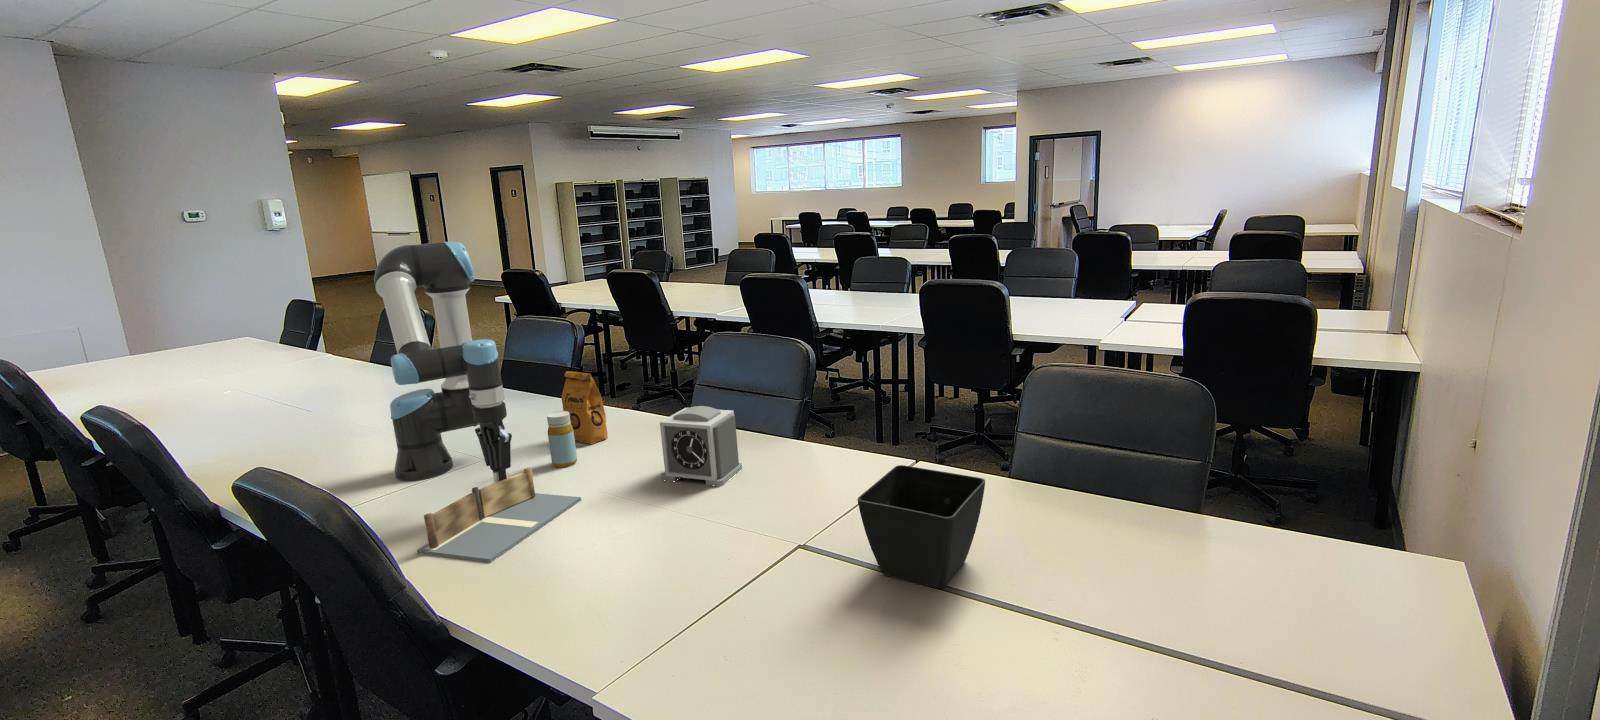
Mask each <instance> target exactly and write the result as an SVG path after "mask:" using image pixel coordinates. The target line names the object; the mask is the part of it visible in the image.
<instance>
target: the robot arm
mask: <svg viewBox="0 0 1600 720" xmlns="http://www.w3.org/2000/svg"><path fill="white" fill-rule="evenodd" d="M373 278H374V279H373V281H374V287H375V291H376V293H377V295H379V297H381V298H382V300H383V301H382V302H383V304H384V308H385V312H386V317H387V319H388V323H389V326H390V330H391V334H392V338H393V341H394V345H395V349H396V354H394V355H391V357H390V365H391V370H392V375H393V379H394V382H395V384H397V385H399V386H406V385H416V384H417V385H418V384H421V383H425V382H432V381H435V380H436V381H437V380H441V379H445V380H443V382H442V383H441V385H440V387H441V391H440V392H435V391H434V390H433V389H432V388H423V389H422V388H421V389H416V390H412V391H409V392H406V393H404V394H401V395H399V396H397V397H395V398H394V399H393V400H392V401H391V402H390V404H389V408H390V409H389V410H390V419H391V420H392V426H393V431H394V438H395V442H396V448H397V454H396V460H395V464H394V474H395V479H397V480H399V481H404V482H405V481H407V482H408V481H409V482H410V481H419V480H425V479H430V478H434V477H437V476H440V475H442V474H445V473H447V472H448V471H450V470H452V469H453V467H454V462H453V458H452V456H451V454H450V453H449V450H448V449H447V447H446V445H445V443H444V442H443V437H442V433H445V432H446V433H447V432H451V431H457V430H461V429H467V428H471V427H473V428H474V427H477V428H475V429H474V432H475V434H476V436H477V438H478V442H479V445H480V448H481V452H482V455H483V459H484V462H485V466H486V467H489V469H490V470H491V471H492V476H493V484H494V483H497V482H499V481H502V480H504V479H507V478H508V477H507V470H508V469H510V468H511V467H512V465H511V461H512V459H511V457H512V456H511V450H512V449H511V448H512V447H511V444H512V443H511V441H512V437H513V435H512V433H511V432H509V433H508V432H507V431H506V430H505V429H506V427H505V425H504V422H503V420H504V419H505V418H506V417H507V416H508V415H507V414H508V413H507V406H506V402H504V400H505V394H504V387H503V383H502V382H503V381H502V375H501V369H500V362H499V352H498V350H497V345H496V342H495V340H493V339H487V338H486V339H484V338H481V339H474V340H473V338H472V330H471V325H470V324H471V323H470V318H469V311H468V305H467V298H466V294H467V293H468V291H469V290H470V289H471V287H470V286H471V285H470V283H472V282H474V281H475V272H474V267H473V264H472V261H471V257H470V256H469V253H468V250H467V249H466V247H465V246H464V245H463V243H462V242H459V241H440V242H431V243H429V242H428V243H422V244H421V243H420V244H411V245H410V244H405V245H401V246H398V247H395V248H393V249H391V250H390V251H389V252H387V253H386V254H385V255H384V256H383V257H382V258H381V260H380V261H379V263H378V264H377V266H376V269H375V272H374V277H373ZM417 288H423V289H424V293H425V294H426V295H428V297H430V298H431V299H432V305H433V310H434V316H435V322H436V328H437V334H438V335H437V336H438V341H439V346H440V347H439V348H432V346H431V343H430V340H429V337H428V333H427V330H426V327H425V323H424V320H423V317H422V313H421V310H420V307H419V304H418V303H419V302H418V300H417V297H416V294H415V291H416V289H417ZM478 426H479V427H478Z"/></svg>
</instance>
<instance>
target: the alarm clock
mask: <svg viewBox="0 0 1600 720" xmlns="http://www.w3.org/2000/svg"><path fill="white" fill-rule="evenodd" d="M734 411H735V410H733V409H732V410H731V409H727V410H726V409H717V408H714V407H711V406H706V405H705V406H704V405H697V406H692V407H691V406H689V407H684V408H683V409H680V410H678V411H677V412H675V413H674V414H672V415H670V416H668V417H666V418H665V419H663V420H662V421H659V428H660V438H661V444H662V445H661V447H662V448H661V449H662V456H663V465H664V466H663V467H664V472H662V473H661V478H662V481H663V480H665V481H664V482H668V481H676V480H677V479H679V478H680V477H682V479H683V478H684V479H691V480H692V479H693V480H702V481H703V480H704V481H705V486H706V485H714V486H713V487H715V486H721V485H724V484H725V483H726V482H727V481H728V480H729V479H730V478H732V477H733V476H734V475H735V474H737V473H738V472H739V471H740V470H741V469H742V470H743V463H741V462H740V461H739V460H740V459H739V448H738V437H737V436H738V435H737V425H736V423H737V422H736V415H735V412H734ZM739 473H740V472H739ZM739 473H738V474H739ZM738 474H737V475H738ZM733 478H734V477H733ZM733 478H732V479H733ZM680 479H681V478H680ZM680 479H679V480H680ZM677 481H678V480H677ZM677 481H676V482H677ZM728 482H729V481H728ZM728 482H727V483H728ZM727 483H726V484H727ZM726 484H725V485H726ZM725 485H724V486H725ZM721 487H722V486H721Z"/></svg>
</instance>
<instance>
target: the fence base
mask: <svg viewBox="0 0 1600 720" xmlns="http://www.w3.org/2000/svg"><path fill="white" fill-rule="evenodd" d="M479 489H480V488H479V487H478V486H474V487H472V488H471V492H470V493H468V494H467V495H465V496H463V497H461V498H459V499H457V500H456V501H454V502H452V503H450V504H448V505H447V506H444V507H443V508H441V509H439V510H438V511H435V512H434V513H431V512H430V513H429V512H428V513H426V514H424V515H423V520H424V525H425V530H426V535H427V541H428V543H429V547H430V549H433V548H437V547H438V546H439V545H440V544H442V543H444V542H445V541H447V540H449V539H450V538H452V537H454V536H455V535H457V534H459V533H460V532H462V531H463V530H465V529H467V528H468V527H470V526H472V525H473V524H475V523H477V522H478V521H480V520H482V519H483V513H482V507H481V501H480V495H479Z"/></svg>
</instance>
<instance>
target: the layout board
mask: <svg viewBox="0 0 1600 720" xmlns="http://www.w3.org/2000/svg"><path fill="white" fill-rule="evenodd" d="M581 501H582V497H580V496H571V495H559V494H550V493H536V492H535V497H532V498H529V499H527V500H524V501H522V502H520V503H517V504H515V505H513V506H510V507H508V508H506V509H503V510H501V511H498V512H496V513H494V514H491V515H489V516H487V517H483V519H482V520H480V521H478V522H477V523H475V524H473V525H472V526H470V527H468V528H467V529H465V530H463V531H462V532H460V533H459V534H457V535H455V536H454V537H452V538H450V539H449V540H447V541H445V542H444V543H442V544H440V545H439V546H438V547H437V548H433V549H430V547H429V542H428V543H426V544H424V545H422V546H421V547H418V548H417V549H416V554H418V555H419V554H420V555H421V554H422V555H426V556H427V555H428V556H436V557H444V558H451V559H457V560H458V559H460V560H467V561H475V562H482V563H483V562H484V563H490V564H491V563H492V562H494V561H495V560H497V559H498V558H499V556H500V557H502V556H503V555H504V554H505V553H507V552H508V551H510V550H511V549H512V548H514V547H516V546H517V545H518V544H520V543H521V542H522V541H525V540H526V539H527V538H528V537H530V536H531V535H533V534H534V533H536V532H537V531H538V530H540V529H542V528H543V527H545V526H546V525H547V524H549V523H550V522H552V521H554V520H555V519H556V518H558V517H559V516H560V515H562V514H563V513H565V512H566V511H568V510H569V509H571V508H572V507H574V506H575V505H576V504H578V503H580V502H581ZM567 509H568V510H567ZM496 558H497V559H496Z"/></svg>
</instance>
